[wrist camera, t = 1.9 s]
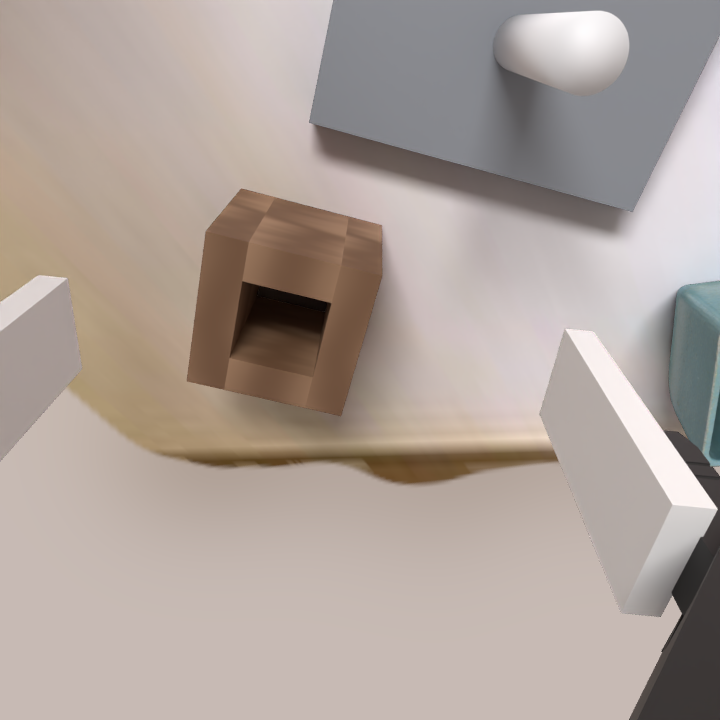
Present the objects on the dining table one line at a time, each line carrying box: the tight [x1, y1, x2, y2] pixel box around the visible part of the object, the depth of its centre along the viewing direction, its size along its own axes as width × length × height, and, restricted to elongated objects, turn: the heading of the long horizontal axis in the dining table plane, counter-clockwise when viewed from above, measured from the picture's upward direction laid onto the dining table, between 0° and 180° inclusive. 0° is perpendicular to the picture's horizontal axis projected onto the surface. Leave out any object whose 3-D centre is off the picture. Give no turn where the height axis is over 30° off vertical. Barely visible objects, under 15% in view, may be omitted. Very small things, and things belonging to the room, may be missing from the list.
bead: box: [187, 189, 382, 416], centre depth 33 cm, size 8×8×8 cm
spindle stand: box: [309, 0, 720, 212], centre depth 24 cm, size 18×12×13 cm, turn 76°
